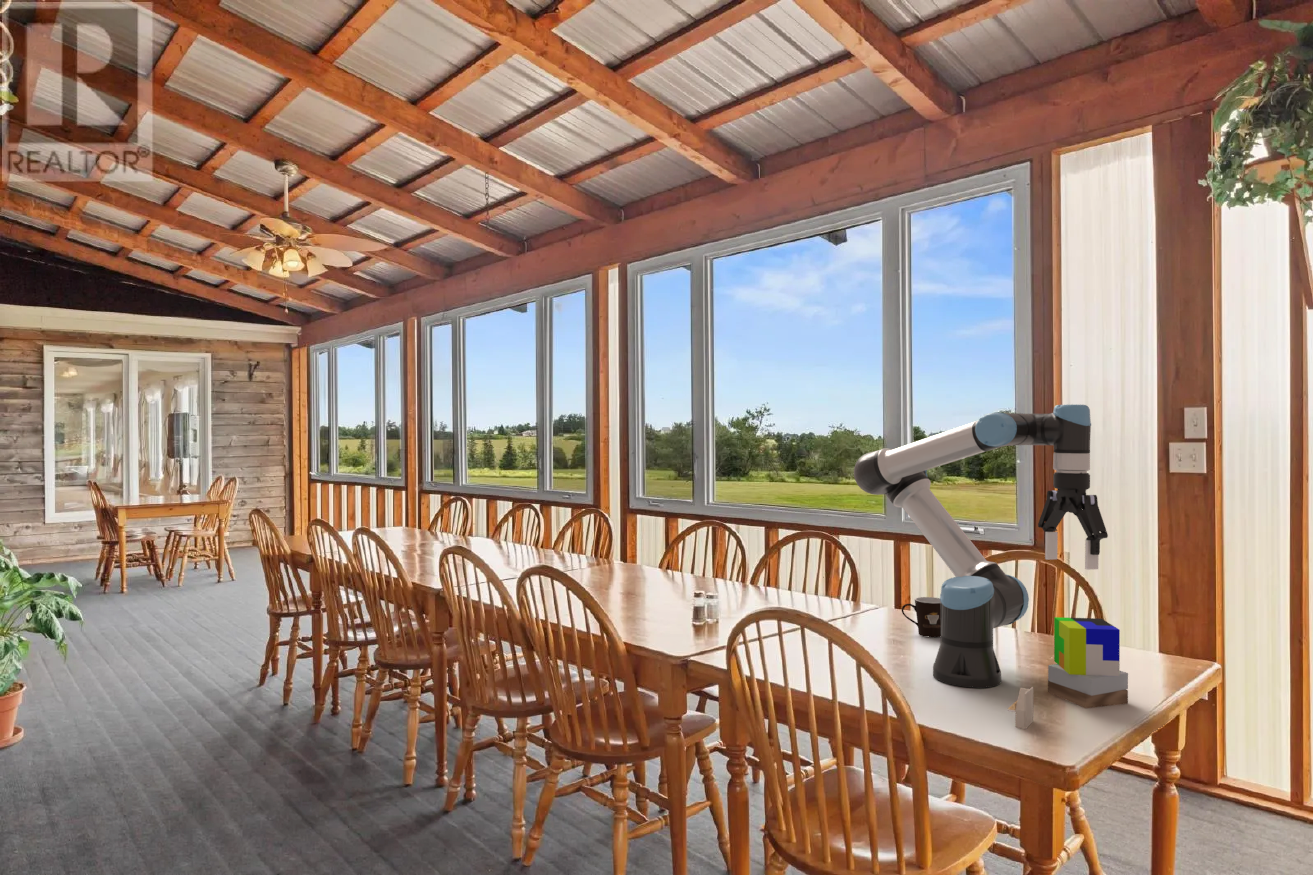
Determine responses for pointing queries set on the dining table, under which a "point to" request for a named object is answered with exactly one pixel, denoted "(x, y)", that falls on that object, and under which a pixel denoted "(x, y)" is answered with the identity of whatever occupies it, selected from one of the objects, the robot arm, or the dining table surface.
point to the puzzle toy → (1087, 646)
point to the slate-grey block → (1088, 681)
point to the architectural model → (1023, 708)
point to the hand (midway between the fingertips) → (1070, 564)
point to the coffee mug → (927, 616)
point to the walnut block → (1088, 696)
